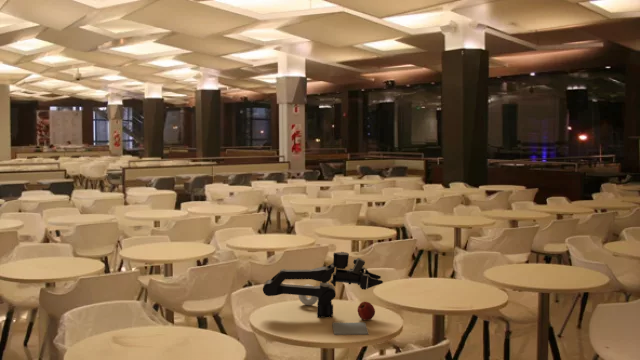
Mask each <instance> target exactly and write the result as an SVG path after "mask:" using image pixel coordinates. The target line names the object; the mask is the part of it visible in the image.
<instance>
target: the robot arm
mask: <svg viewBox="0 0 640 360" xmlns="http://www.w3.org/2000/svg"><path fill="white" fill-rule="evenodd" d="M332 255H333V260H332V261H333V262H332V263H330V264H329V265H327V266H319V267H315V268H311V269H285V268H282V269H280V270H279V271H278V273H276V274H275V275H274V276H273V277H271V279H267V280H266V281H265V282H264V284H263V288H262V291H263V294H264V296H266V297H273V296H276V297H277V296H280V295H292V296H294V295H295V296H298V295H305V296H306V297H307V296H309V297H311V296H315V297H318V300H317V302H316V306H317V310H316V317H317V318H333V315H334V304H332V301H333V300H334V299H335V298H336V296H337V294H336V286H337V283H344V284H348V285H352V284H354V285H357V286H359V288H360V289H361V290H363V291H364V290H369V289H370V288H373V287H376V286H379V285H381V284H383V283H384V281H383V280H380V279H382V276H381V275H379V274H376V273H372V272H370V271H369V270H368V269H367V268H366V267H365V264H366V261H365V260H364V259H362V258H361V257H357V258H354V259H353V264H354V265H353V268H349V269H346V268H347V267H348V266H349V258H350V253H348V252H344V251H340V252H333V253H332ZM285 280H313V281H316V282H319V285H316V286H314V285H312V286H304V285H301V284H288V283H283V282H285ZM329 281H330V282H329Z"/></svg>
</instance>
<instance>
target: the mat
mask: <svg viewBox="0 0 640 360" xmlns="http://www.w3.org/2000/svg"><path fill="white" fill-rule="evenodd" d="M332 330H333V335H334V336H335V335H336V336H342V335H343V336H347V335H348V336H352V335H353V336H354V335H355V336H357V335H359V336H364V335H369V330H368V327H367V323H366V322H364V321H363V322H360V321H359V322H332Z"/></svg>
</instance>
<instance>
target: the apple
mask: <svg viewBox="0 0 640 360" xmlns="http://www.w3.org/2000/svg"><path fill="white" fill-rule="evenodd" d="M357 314H358V316H359V319H361V320H363V321H369V320H371V319H372V318H374V317H375V314H376V309H375V307H374V305H373V304H371V303H370V302H369V301H362V302H360V303H359V305H358V307H357Z"/></svg>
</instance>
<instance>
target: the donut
mask: <svg viewBox="0 0 640 360" xmlns="http://www.w3.org/2000/svg"><path fill="white" fill-rule="evenodd" d="M303 286H313V285H312V284H308V283H307V284H304V285H303ZM297 297H298V298H299V301H300V302H301V303H302V304H303V305H305V306H312V305H315V304H317V301H318V297H315V296H310V297H307V296H305V295H297Z"/></svg>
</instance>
